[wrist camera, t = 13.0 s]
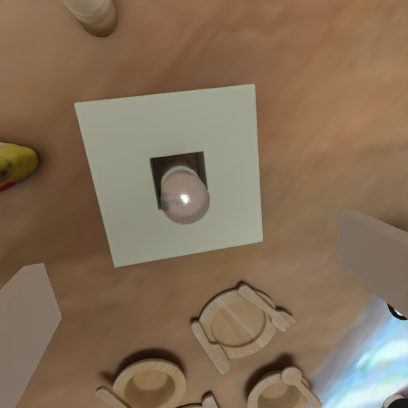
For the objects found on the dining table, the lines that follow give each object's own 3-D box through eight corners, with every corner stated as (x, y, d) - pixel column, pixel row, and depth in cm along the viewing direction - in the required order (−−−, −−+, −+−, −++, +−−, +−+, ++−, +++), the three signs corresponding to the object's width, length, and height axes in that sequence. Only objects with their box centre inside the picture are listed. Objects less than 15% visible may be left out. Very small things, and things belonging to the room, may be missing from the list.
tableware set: (261, 264, 41) (271, 278, 37) (328, 374, 50) (341, 395, 47) (74, 379, 42) (65, 405, 38) (174, 466, 51) (175, 494, 47)
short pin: (84, 38, 29) (60, 12, 22) (74, -5, 27) (46, -46, 21) (121, 35, 29) (109, 9, 22) (113, -7, 28) (98, -49, 21)
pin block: (122, 245, 36) (114, 267, 30) (90, 107, 31) (73, 102, 25) (247, 224, 38) (262, 241, 32) (238, 91, 33) (254, 83, 27)
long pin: (164, 189, 35) (164, 228, 21) (159, 159, 34) (156, 180, 20) (193, 184, 35) (212, 220, 22) (189, 154, 34) (207, 173, 21)
